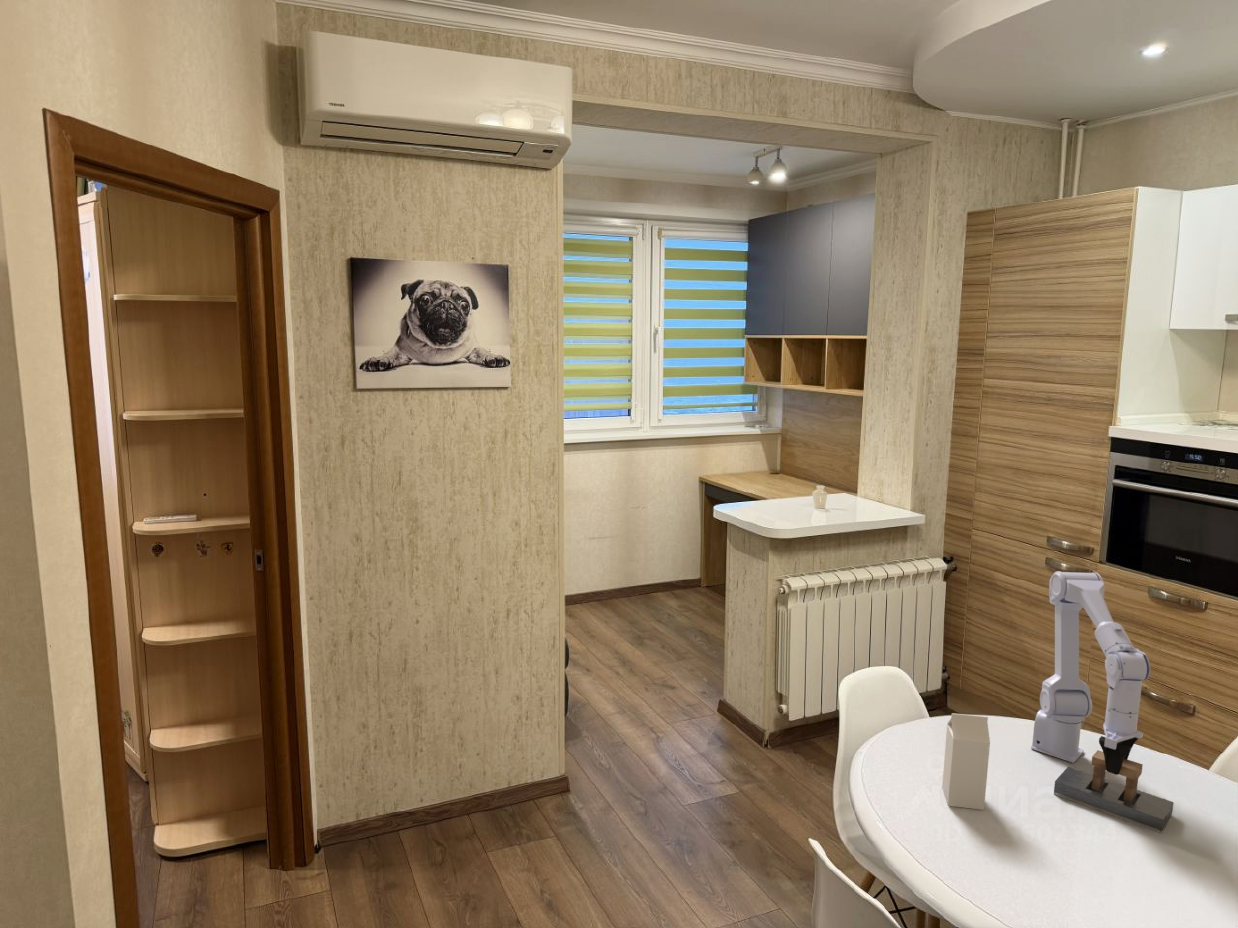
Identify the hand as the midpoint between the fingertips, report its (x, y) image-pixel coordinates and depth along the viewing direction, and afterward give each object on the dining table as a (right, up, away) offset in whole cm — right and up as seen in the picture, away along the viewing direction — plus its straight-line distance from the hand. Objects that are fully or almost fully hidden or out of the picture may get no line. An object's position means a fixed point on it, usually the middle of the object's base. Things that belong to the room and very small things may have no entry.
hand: (1115, 768), depth 173 cm
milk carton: (-31, -8, +2) cm, 32 cm away
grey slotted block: (0, -8, +1) cm, 8 cm away
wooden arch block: (0, -5, +1) cm, 5 cm away
